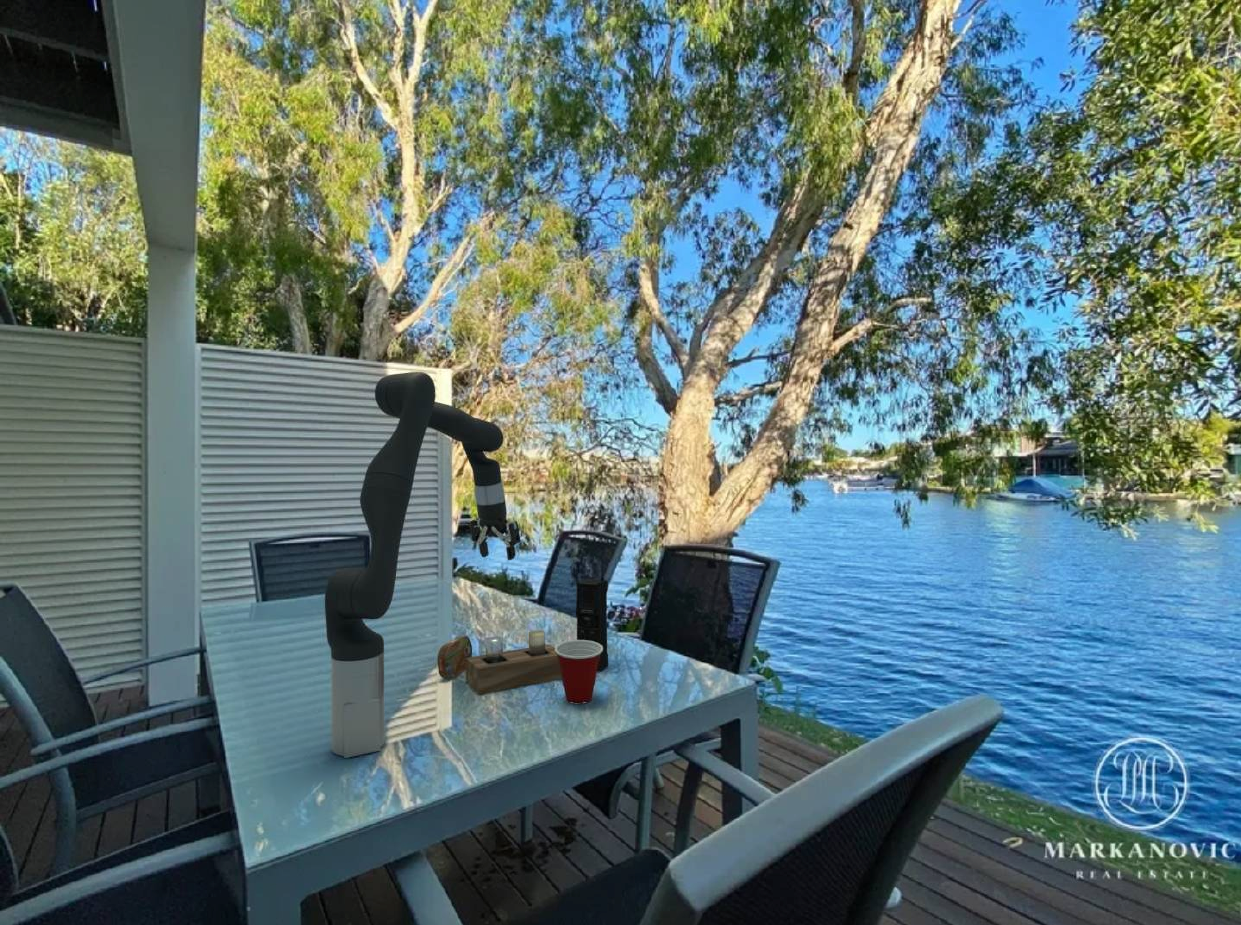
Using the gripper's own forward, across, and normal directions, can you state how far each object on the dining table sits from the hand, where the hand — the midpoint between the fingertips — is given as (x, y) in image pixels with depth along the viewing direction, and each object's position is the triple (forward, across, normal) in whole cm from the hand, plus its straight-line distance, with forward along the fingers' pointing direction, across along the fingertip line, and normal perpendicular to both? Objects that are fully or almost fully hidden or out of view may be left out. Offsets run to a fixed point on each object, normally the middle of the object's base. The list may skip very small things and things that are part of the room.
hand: (498, 557), depth 173 cm
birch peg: (+20, +17, -11) cm, 29 cm away
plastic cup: (+23, +34, -21) cm, 46 cm away
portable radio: (+28, +26, -1) cm, 38 cm away
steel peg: (+18, +11, -20) cm, 29 cm away
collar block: (+24, +14, -17) cm, 32 cm away
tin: (+25, -4, -18) cm, 31 cm away
